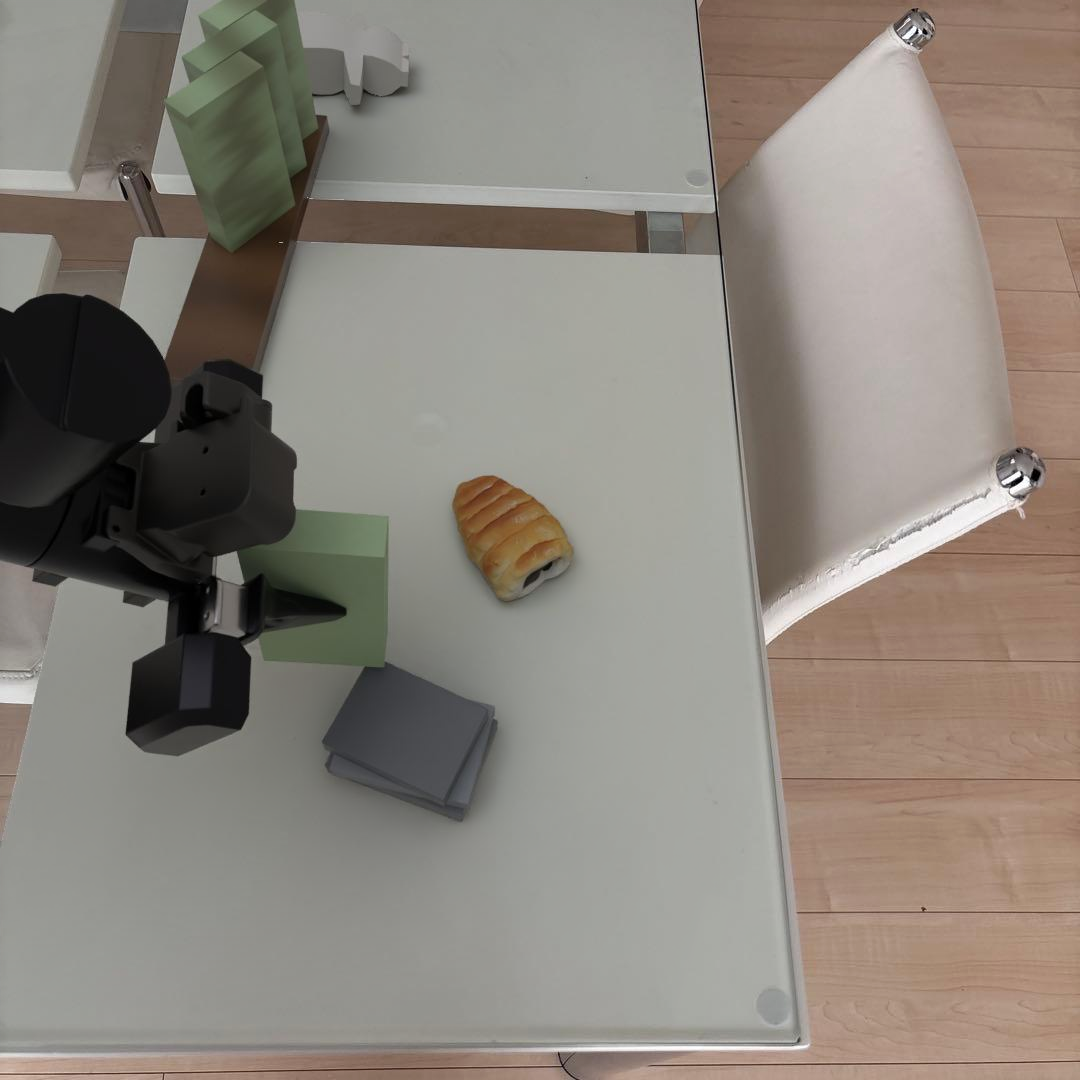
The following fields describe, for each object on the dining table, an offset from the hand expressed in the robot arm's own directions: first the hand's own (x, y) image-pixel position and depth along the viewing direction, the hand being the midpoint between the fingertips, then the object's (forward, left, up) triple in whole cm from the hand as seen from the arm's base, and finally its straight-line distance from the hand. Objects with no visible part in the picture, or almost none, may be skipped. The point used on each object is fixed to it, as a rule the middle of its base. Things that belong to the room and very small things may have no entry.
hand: (342, 589), depth 52 cm
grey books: (+2, -6, -13) cm, 15 cm away
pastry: (+12, +6, -14) cm, 19 cm away
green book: (-2, 0, -7) cm, 7 cm away
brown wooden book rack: (-1, +38, -13) cm, 40 cm away
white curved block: (+10, +56, -14) cm, 58 cm away
